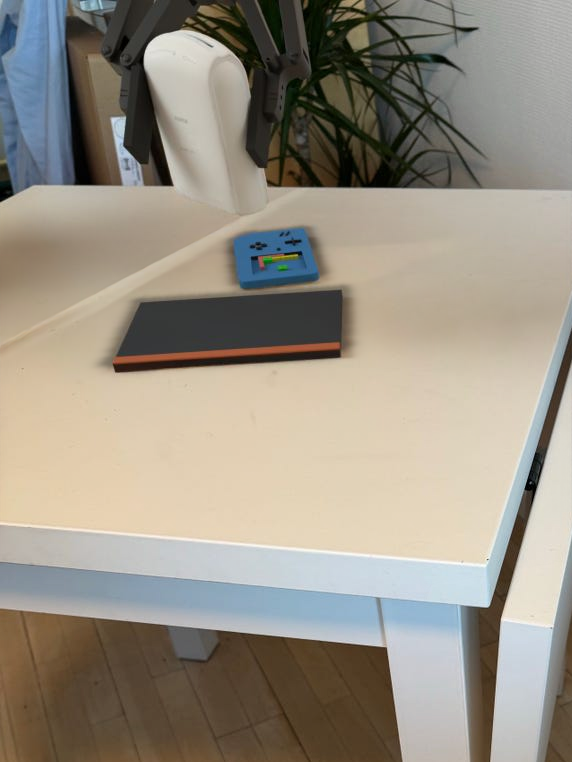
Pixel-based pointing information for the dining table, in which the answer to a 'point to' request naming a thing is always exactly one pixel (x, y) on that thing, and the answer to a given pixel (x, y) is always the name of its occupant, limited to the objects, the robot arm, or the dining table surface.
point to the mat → (232, 331)
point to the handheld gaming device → (274, 259)
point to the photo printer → (205, 121)
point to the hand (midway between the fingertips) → (195, 157)
